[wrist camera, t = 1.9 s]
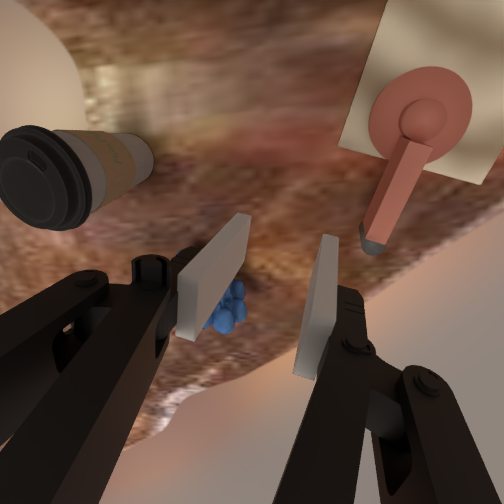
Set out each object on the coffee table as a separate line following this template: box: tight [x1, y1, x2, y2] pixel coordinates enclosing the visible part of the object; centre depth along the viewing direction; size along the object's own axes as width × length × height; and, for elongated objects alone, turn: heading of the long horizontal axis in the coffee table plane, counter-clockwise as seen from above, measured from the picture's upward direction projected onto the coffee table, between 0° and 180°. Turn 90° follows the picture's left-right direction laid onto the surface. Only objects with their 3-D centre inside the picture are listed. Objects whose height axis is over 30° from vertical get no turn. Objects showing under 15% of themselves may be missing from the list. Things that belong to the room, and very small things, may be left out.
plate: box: [338, 0, 504, 185], centre depth 23 cm, size 23×14×5 cm, turn 167°
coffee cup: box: [0, 125, 154, 231], centre depth 32 cm, size 9×9×15 cm
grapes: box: [177, 249, 247, 334], centre depth 36 cm, size 12×7×12 cm, turn 57°
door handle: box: [359, 66, 473, 255], centre depth 24 cm, size 14×7×6 cm, turn 167°
